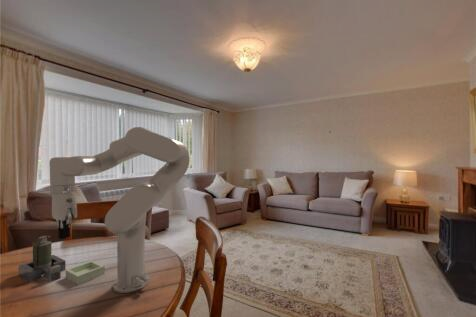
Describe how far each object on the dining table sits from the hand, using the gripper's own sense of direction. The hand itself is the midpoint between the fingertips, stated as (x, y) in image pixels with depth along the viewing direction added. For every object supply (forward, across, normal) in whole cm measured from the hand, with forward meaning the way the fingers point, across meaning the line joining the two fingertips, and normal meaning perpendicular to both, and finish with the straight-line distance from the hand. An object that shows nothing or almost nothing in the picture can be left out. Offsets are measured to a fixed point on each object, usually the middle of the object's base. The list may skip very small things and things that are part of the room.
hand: (64, 237), depth 87 cm
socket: (+18, +20, 0) cm, 27 cm away
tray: (+18, +1, -8) cm, 20 cm away
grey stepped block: (+18, +12, 0) cm, 21 cm away
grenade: (+18, +20, 0) cm, 27 cm away
